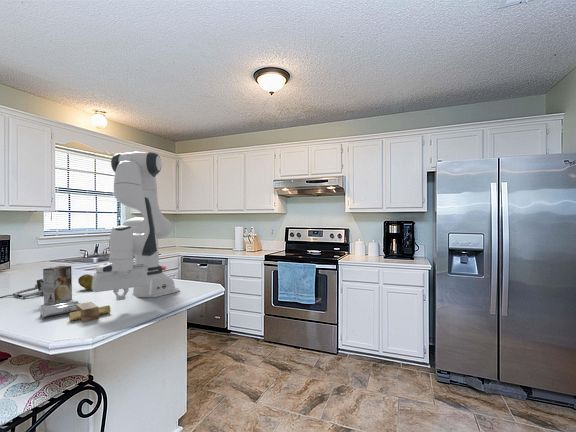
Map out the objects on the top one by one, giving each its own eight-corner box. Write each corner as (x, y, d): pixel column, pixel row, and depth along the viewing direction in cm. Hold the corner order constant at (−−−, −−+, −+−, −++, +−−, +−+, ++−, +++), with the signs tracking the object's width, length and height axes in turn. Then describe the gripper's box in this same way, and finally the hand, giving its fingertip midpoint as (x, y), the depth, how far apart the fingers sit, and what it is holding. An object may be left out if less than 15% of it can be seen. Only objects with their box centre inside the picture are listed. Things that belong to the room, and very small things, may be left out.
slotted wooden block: (91, 316, 122) (91, 301, 122) (98, 322, 115) (98, 306, 115) (76, 320, 119) (76, 304, 119) (83, 326, 112) (82, 309, 112)
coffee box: (61, 298, 150) (61, 265, 150) (72, 299, 149) (72, 265, 149) (43, 303, 141) (42, 268, 141) (54, 304, 140) (54, 269, 140)
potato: (90, 292, 162) (90, 277, 162) (75, 289, 168) (75, 275, 168) (105, 288, 169) (105, 274, 169) (91, 286, 175) (90, 272, 175)
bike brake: (47, 287, 169) (0, 302, 152) (45, 275, 168) (-3, 289, 151) (59, 291, 162) (11, 306, 145) (57, 278, 161) (8, 293, 144)
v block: (76, 312, 128) (76, 300, 128) (81, 316, 123) (81, 303, 123) (40, 319, 120) (40, 306, 120) (43, 324, 115) (43, 310, 115)
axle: (108, 312, 124) (108, 304, 124) (110, 313, 121) (110, 306, 121) (68, 320, 114) (68, 312, 114) (70, 322, 112) (70, 313, 112)
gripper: (144, 262, 135) (144, 294, 135) (90, 267, 121) (90, 302, 120) (150, 264, 131) (150, 297, 130) (95, 268, 116) (94, 305, 116)
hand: (120, 299), depth 125 cm, fingers closed
